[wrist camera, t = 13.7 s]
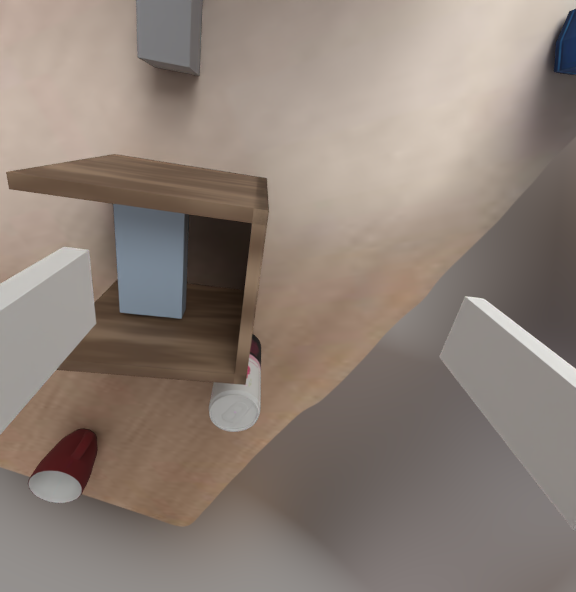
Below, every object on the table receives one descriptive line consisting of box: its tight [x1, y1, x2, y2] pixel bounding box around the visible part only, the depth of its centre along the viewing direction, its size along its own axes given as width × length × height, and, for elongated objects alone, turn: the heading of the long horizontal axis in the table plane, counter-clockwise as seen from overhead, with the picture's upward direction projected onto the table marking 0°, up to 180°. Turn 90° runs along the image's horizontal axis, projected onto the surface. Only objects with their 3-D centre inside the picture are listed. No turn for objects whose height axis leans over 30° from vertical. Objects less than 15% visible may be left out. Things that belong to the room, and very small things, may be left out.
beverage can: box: [209, 334, 261, 432], centre depth 50 cm, size 7×6×15 cm
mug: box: [28, 429, 97, 503], centre depth 58 cm, size 10×8×10 cm
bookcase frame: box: [6, 154, 269, 385], centre depth 39 cm, size 18×19×20 cm
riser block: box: [136, 0, 203, 76], centre depth 35 cm, size 8×5×6 cm, turn 171°
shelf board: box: [113, 204, 189, 319], centre depth 38 cm, size 14×7×2 cm, turn 171°
